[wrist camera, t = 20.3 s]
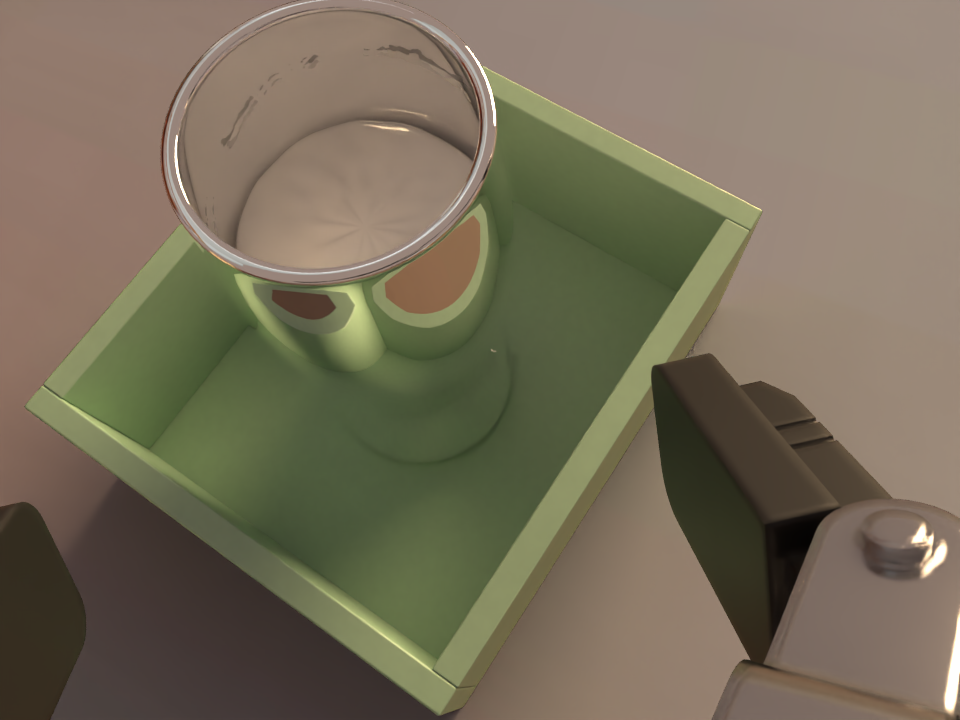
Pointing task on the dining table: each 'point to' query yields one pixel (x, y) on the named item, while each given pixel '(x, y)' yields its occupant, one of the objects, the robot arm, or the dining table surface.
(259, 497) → the tub
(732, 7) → the dining table surface
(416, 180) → the beer glass
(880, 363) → the dining table surface
